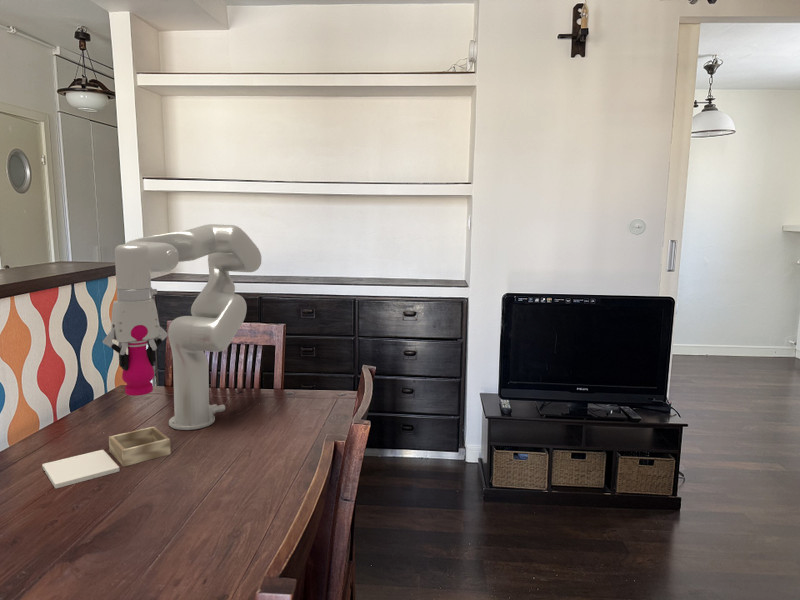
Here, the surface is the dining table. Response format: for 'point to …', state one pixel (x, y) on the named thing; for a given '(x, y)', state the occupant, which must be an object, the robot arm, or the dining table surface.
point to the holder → (139, 446)
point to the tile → (79, 468)
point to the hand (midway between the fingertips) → (137, 366)
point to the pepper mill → (138, 365)
